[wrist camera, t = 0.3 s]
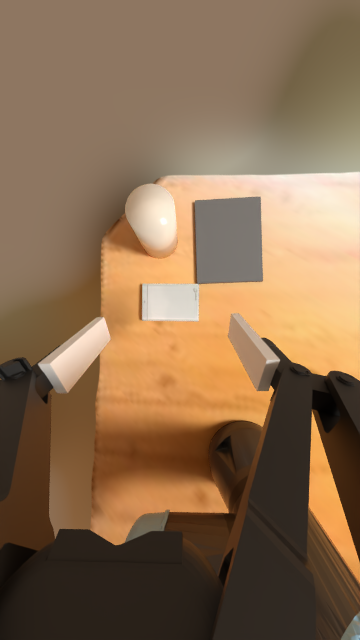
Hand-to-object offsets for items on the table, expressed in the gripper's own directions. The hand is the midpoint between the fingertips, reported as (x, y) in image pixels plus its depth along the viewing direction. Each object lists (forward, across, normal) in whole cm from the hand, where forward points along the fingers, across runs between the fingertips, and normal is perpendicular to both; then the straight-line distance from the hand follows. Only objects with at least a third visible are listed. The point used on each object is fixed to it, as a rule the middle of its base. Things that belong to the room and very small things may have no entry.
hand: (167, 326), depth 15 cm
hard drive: (+17, +1, +4) cm, 18 cm away
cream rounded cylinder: (+23, +3, -9) cm, 25 cm away
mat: (+22, -12, -8) cm, 27 cm away
